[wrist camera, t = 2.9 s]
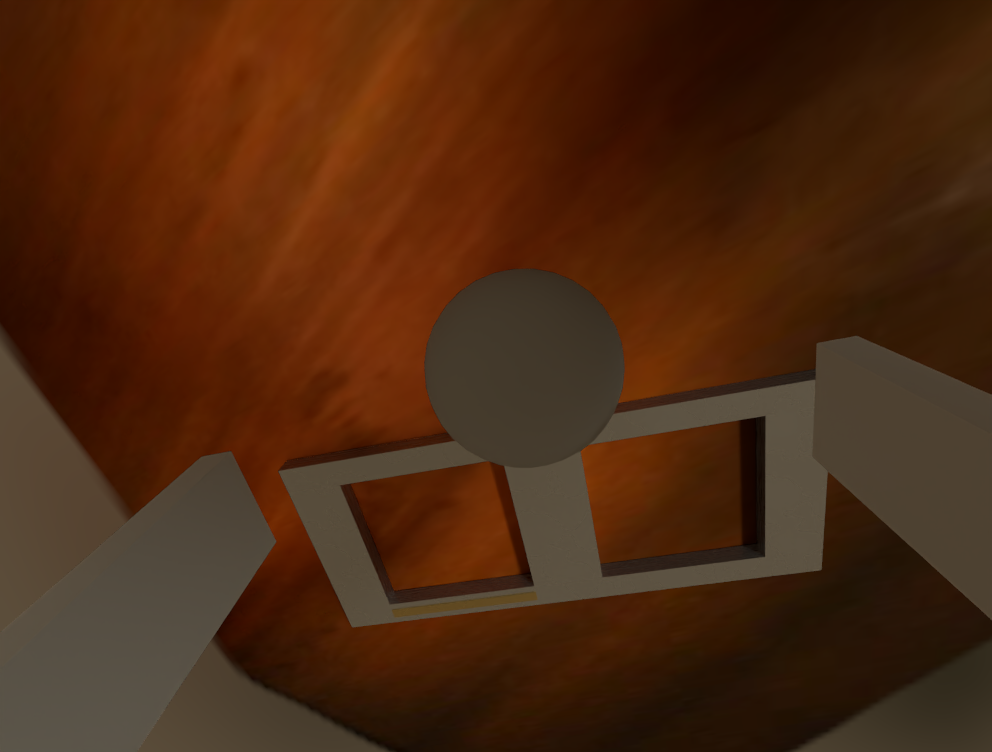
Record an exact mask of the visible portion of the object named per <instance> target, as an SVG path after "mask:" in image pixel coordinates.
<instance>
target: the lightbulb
mask: <svg viewBox="0 0 992 752" xmlns="http://www.w3.org/2000/svg"><path fill="white" fill-rule="evenodd" d="M424 364H425V380H426V389H427V392H428V396H429V399H430V402H431V405H432V407H433V409H434V411H435V413H436V415H437V417H438V419H439V421H440V423H441V425H442V426H443V427H444V428H445V430H446V431H447V432H448V433H449V435H450V436H451V437H452V438H453V439H454V440H455V441H456V442H457V443H459V444H460V445H461V446H462V447H463V448H465V449H466V450H468V451H469V452H471V453H473V454H475V455H476V456H478V457H480V458H482V459H484V460H487V461H490V462H493V463H496V464H498V465H503V466H509V467H514V468H534V467H540V466H547V465H550V464H553V463H556V462H559V461H562V460H564V459H566V458H568V457H570V456H572V455H574V454H576V453H578V452H579V451H581V450H582V449H584V448H585V447H586V446H588V445H589V444H590V443H591V442H593V441H594V440H595V439H596V438H597V436H598V435H599V434H600V433H601V432H602V431H603V430H604V428H605V427H606V426H607V424H608V422H609V420H610V419H611V417H612V415H613V413H614V412H615V409H616V407H617V404H618V401H619V398H620V395H621V392H622V388H623V379H624V357H623V349H622V343H621V340H620V337H619V334H618V332H617V329H616V326H615V325H614V323H613V321H612V320H611V318H610V316H609V315H608V313H607V312H606V310H605V308H604V307H603V306H602V304H601V303H600V302H599V301H598V300H597V299H596V298H595V297H594V296H593V295H592V294H591V293H590V292H589V291H588V290H586V289H585V288H583V287H582V286H580V285H579V284H577V283H576V282H574V281H573V280H571V279H568V278H566V277H563V276H561V275H559V274H556V273H553V272H548V271H543V270H538V269H511V270H506V271H501V272H497V273H493V274H490V275H488V276H486V277H483V278H481V279H479V280H476V281H475V282H473V283H472V284H470V285H469V286H467V287H466V288H464V289H463V290H462V291H460V292H459V293H458V294H457V295H456V296H455V297H454V298H453V299H452V300H451V301H450V302H449V303H448V304H447V305H446V307H445V308H444V310H443V311H442V313H441V315H440V316H439V318H438V320H437V321H436V323H435V325H434V326H433V329H432V331H431V334H430V337H429V340H428V343H427V347H426V355H425V362H424Z"/></svg>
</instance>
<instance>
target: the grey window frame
mask: <svg viewBox="0 0 992 752" xmlns="http://www.w3.org/2000/svg"><path fill="white" fill-rule="evenodd" d="M815 379H816V369H814V370H808V371H802V372H797V373H791V374H785V375H779V376H773V377H768V378H762V379H756V380H750V381H745V382H739V383H733V384H727V385H721V386H716V387H710V388H704V389H698V390H692V391H687V392H681V393H675V394H669V395H664V396H658V397H652V398H646V399H640V400H635V401H629V402H623V403H618V404H617V407H616V409H615V412H614V413H613V415H612V417H611V419H610V420H609V422H608V424H607V426H606V427H605V428H604V430H603V431H602V432H601V433H600V434H599V435H598V436H597V438H596V439H595V440H594V441H593V442H591V443H590V444H596V443H602V442H608V441H614V440H620V439H626V438H632V437H639V436H645V435H651V434H657V433H663V432H669V431H675V430H682V429H688V428H694V427H700V426H706V425H712V424H718V423H724V422H731V421H737V420H743V419H749V418H755V417H756V515H757V544H751V545H744V546H736V547H728V548H721V549H713V550H706V551H698V552H690V553H683V554H675V555H667V556H660V557H652V558H644V559H637V560H629V561H622V562H614V563H606V564H600V561H599V555H598V549H597V543H596V538H595V532H594V526H593V520H592V515H591V509H590V503H589V498H588V492H587V486H586V480H585V475H584V469H583V463H582V458H581V452H580V451H579V452H578V453H576V454H574V455H572V456H570V457H568V458H566V459H564V460H562V461H559V462H556V463H553V464H550V465H547V466H540V467H534V468H514V467H509V466H504V467H505V471H506V475H507V479H508V483H509V487H510V491H511V495H512V499H513V503H514V507H515V511H516V515H517V519H518V523H519V527H520V531H521V535H522V539H523V543H524V547H525V551H526V555H527V559H528V563H529V567H530V571H531V573H530V574H522V575H515V576H507V577H499V578H492V579H484V580H476V581H469V582H461V583H453V584H446V585H438V586H431V587H423V588H415V589H408V590H400V591H394V590H393V588H392V586H391V583H390V581H389V578H388V576H387V573H386V571H385V568H384V566H383V563H382V561H381V559H380V556H379V554H378V551H377V549H376V546H375V544H374V541H373V539H372V537H371V534H370V532H369V529H368V527H367V524H366V522H365V519H364V517H363V514H362V512H361V510H360V507H359V505H358V502H357V500H356V497H355V495H354V492H353V490H352V488H351V485H350V484H351V483H357V482H363V481H369V480H375V479H381V478H387V477H393V476H400V475H406V474H412V473H418V472H424V471H430V470H436V469H443V468H449V467H455V466H461V465H467V464H473V463H479V462H485V461H487V460H484V459H482V458H480V457H478V456H476V455H475V454H473V453H471V452H469V451H468V450H466V449H465V448H463V447H462V446H461V445H460V444H459V443H457V442H456V441H455V440H454V439H453V438H452V437H451V436H450V435H449V433H444V434H438V435H432V436H426V437H421V438H415V439H409V440H403V441H397V442H392V443H386V444H380V445H374V446H368V447H363V448H357V449H351V450H345V451H339V452H334V453H328V454H322V455H316V456H311V457H305V458H299V459H293V460H287V461H286V462H285V463H284V465H283V466H282V467H281V468H280V469H279V471H278V472H279V474H280V476H281V478H282V480H283V482H284V484H285V487H286V489H287V491H288V493H289V495H290V497H291V499H292V501H293V503H294V506H295V508H296V510H297V512H298V514H299V516H300V518H301V520H302V522H303V525H304V527H305V529H306V531H307V533H308V535H309V537H310V539H311V541H312V544H313V546H314V548H315V550H316V552H317V554H318V556H319V558H320V560H321V563H322V565H323V567H324V569H325V571H326V573H327V575H328V577H329V580H330V582H331V584H332V586H333V588H334V590H335V592H336V594H337V596H338V599H339V601H340V603H341V605H342V607H343V609H344V611H345V613H346V615H347V618H348V620H349V622H350V624H351V626H352V627H359V626H367V625H375V624H383V623H392V622H400V621H408V620H416V619H424V618H433V617H441V616H449V615H457V614H465V613H473V612H482V611H490V610H498V609H506V608H514V607H523V606H531V605H539V604H547V603H555V602H563V601H572V600H580V599H588V598H596V597H604V596H613V595H621V594H629V593H637V592H645V591H653V590H662V589H670V588H678V587H686V586H694V585H703V584H711V583H719V582H727V581H735V580H743V579H752V578H760V577H768V576H776V575H784V574H793V573H801V572H809V571H817V570H821V567H822V552H823V536H824V520H825V504H826V488H827V472H828V471H827V470H826V469H825V468H824V467H823V466H822V465H821V464H820V463H818V462H817V461H816V460H815V459H814V458H813V457H812V453H813V428H814V403H815ZM590 444H589V445H590Z"/></svg>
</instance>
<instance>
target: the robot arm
mask: <svg viewBox="0 0 992 752" xmlns="http://www.w3.org/2000/svg"><path fill="white" fill-rule="evenodd" d="M812 457H813V458H814V459H815V460H816V461H817V462H818V463H820V464H821V465H822V466H823V467H824V468H825V469H826V470H827V471H828V472H829V473H831V474H832V475H833V476H834V477H835V478H836V479H837V480H838V481H839V482H840V483H842V484H843V485H844V486H845V487H846V488H847V489H848V490H849V491H850V492H852V493H853V494H854V495H855V496H856V497H857V498H858V499H859V500H860V501H861V502H863V503H864V504H865V505H866V506H867V507H868V508H869V509H870V510H871V511H872V512H874V513H875V514H876V515H877V516H878V517H879V518H880V519H881V520H882V521H883V522H885V523H886V524H887V525H888V526H889V527H890V528H891V529H892V530H893V531H894V532H896V533H897V534H898V535H899V536H900V537H901V538H902V539H903V540H904V541H905V542H907V543H908V544H909V545H910V546H911V547H912V548H913V549H914V550H915V551H917V552H918V553H919V554H920V555H921V556H922V557H923V558H924V559H925V560H926V561H928V562H929V563H930V564H931V565H932V566H933V567H934V568H935V569H936V570H937V571H939V572H940V573H941V574H942V575H943V576H944V577H945V578H946V579H947V580H948V581H950V582H951V583H952V584H953V585H954V586H955V587H956V588H957V589H958V590H959V591H961V592H962V593H963V594H964V595H965V596H966V597H967V598H968V599H969V600H970V601H972V602H973V603H974V604H975V605H976V606H977V607H978V608H979V609H980V610H982V611H983V612H984V613H985V614H986V615H987V616H988V617H989V618H990V619H991V620H992V395H990V394H988V393H986V392H984V391H981V390H979V389H977V388H974V387H972V386H970V385H968V384H965V383H963V382H961V381H959V380H956V379H954V378H952V377H949V376H947V375H945V374H943V373H940V372H938V371H936V370H933V369H931V368H929V367H927V366H924V365H922V364H920V363H917V362H915V361H913V360H911V359H908V358H906V357H904V356H901V355H899V354H897V353H895V352H892V351H890V350H888V349H885V348H883V347H881V346H879V345H876V344H874V343H872V342H870V341H867V340H865V339H863V338H860V337H858V336H854V337H848V338H843V339H837V340H832V341H827V342H821V343H817V354H816V379H815V403H814V428H813V453H812ZM275 543H276V540H275V538H274V536H273V534H272V532H271V530H270V528H269V526H268V524H267V522H266V520H265V518H264V516H263V514H262V512H261V510H260V508H259V506H258V504H257V502H256V500H255V498H254V496H253V494H252V492H251V490H250V488H249V486H248V484H247V482H246V480H245V478H244V476H243V474H242V472H241V470H240V468H239V466H238V464H237V462H236V460H235V458H234V456H233V454H232V452H231V451H229V452H224V453H219V454H213V455H208V456H202V457H201V458H200V459H198V460H197V461H196V462H195V463H194V464H193V465H192V466H190V467H189V468H188V469H187V470H186V471H185V472H183V473H182V474H181V475H180V476H179V477H178V478H177V479H175V480H174V481H173V482H172V483H171V484H170V485H169V486H167V487H166V488H165V489H164V490H163V491H162V492H161V493H159V494H158V495H157V496H156V497H155V498H154V499H153V500H151V501H150V502H149V503H148V504H147V505H146V506H144V507H143V508H142V509H141V510H140V511H139V512H138V513H136V514H135V515H134V516H133V517H132V518H131V519H130V520H128V521H127V522H126V523H125V524H124V525H123V526H122V527H120V528H119V529H118V530H117V531H116V532H115V533H114V534H112V535H111V536H110V537H109V538H108V539H107V540H105V541H104V542H103V543H102V544H101V545H100V546H99V547H97V548H96V549H95V550H94V551H93V552H92V553H91V554H89V555H88V556H87V557H86V558H85V559H84V560H83V561H81V562H80V563H79V564H78V565H77V566H76V567H75V568H73V569H72V570H71V571H70V572H69V573H68V574H67V575H65V576H64V577H63V578H62V579H61V580H60V581H58V582H57V583H56V584H55V585H54V586H53V587H52V588H51V589H49V590H48V591H47V592H46V593H45V594H44V595H42V596H41V597H40V598H39V599H38V600H37V601H36V602H34V603H33V604H32V605H31V606H30V607H29V608H28V609H26V610H25V611H24V612H23V613H22V614H21V615H20V616H18V617H17V618H16V619H15V620H14V621H13V622H11V623H10V624H9V625H8V626H7V627H6V628H5V629H3V631H1V632H0V752H137V751H138V749H139V748H140V746H141V745H142V743H143V742H144V740H145V739H146V737H147V736H148V734H149V733H150V731H151V730H152V728H153V727H154V725H155V724H156V722H157V721H158V719H159V718H160V716H161V715H162V713H163V712H164V710H165V709H166V707H167V706H168V704H169V703H170V701H171V700H172V698H173V697H174V695H175V694H176V692H177V691H178V689H179V688H180V686H181V685H182V683H183V682H184V680H185V679H186V677H187V675H188V674H189V672H190V671H191V670H192V668H193V666H194V665H195V663H196V662H197V661H198V659H199V658H200V656H201V654H202V653H203V652H204V650H205V648H206V647H207V645H208V644H209V642H210V641H211V639H212V638H213V636H214V635H215V633H216V632H217V630H218V629H219V627H220V626H221V624H222V623H223V621H224V620H225V618H226V617H227V615H228V614H229V612H230V611H231V609H232V608H233V606H234V605H235V603H236V602H237V600H238V599H239V597H240V596H241V594H242V593H243V591H244V590H245V588H246V587H247V585H248V584H249V582H250V581H251V579H252V578H253V576H254V575H255V573H256V572H257V570H258V569H259V567H260V566H261V564H262V563H263V561H264V560H265V558H266V557H267V555H268V554H269V552H270V551H271V549H272V548H273V546H274V545H275Z"/></svg>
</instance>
